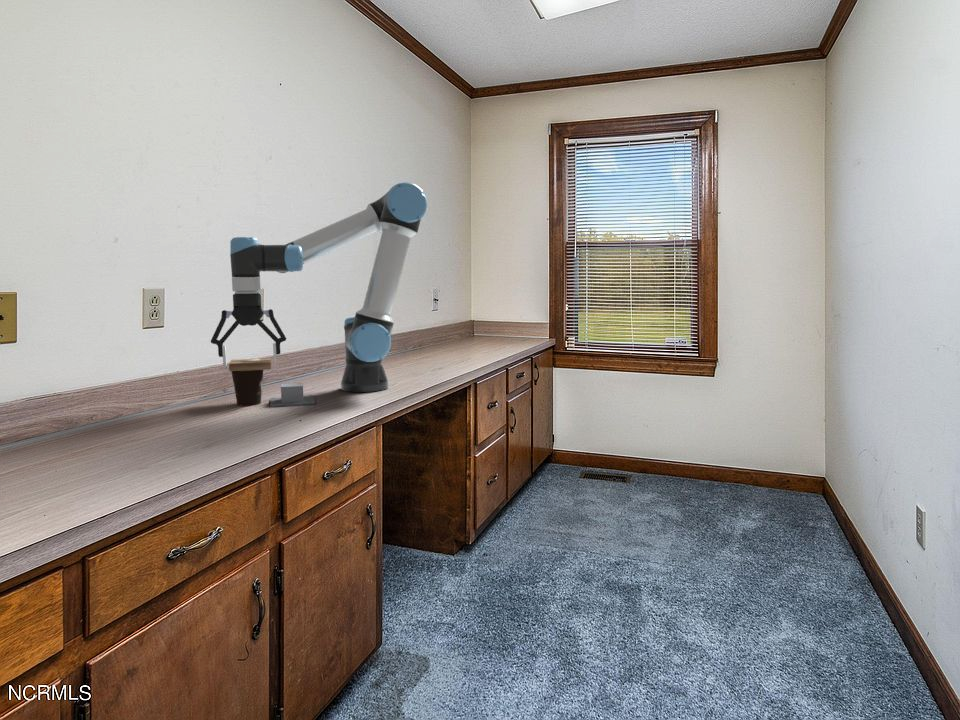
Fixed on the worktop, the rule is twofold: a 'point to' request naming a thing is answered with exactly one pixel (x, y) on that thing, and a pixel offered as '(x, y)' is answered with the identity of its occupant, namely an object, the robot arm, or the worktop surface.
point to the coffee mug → (248, 386)
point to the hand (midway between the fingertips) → (250, 367)
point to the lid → (250, 364)
